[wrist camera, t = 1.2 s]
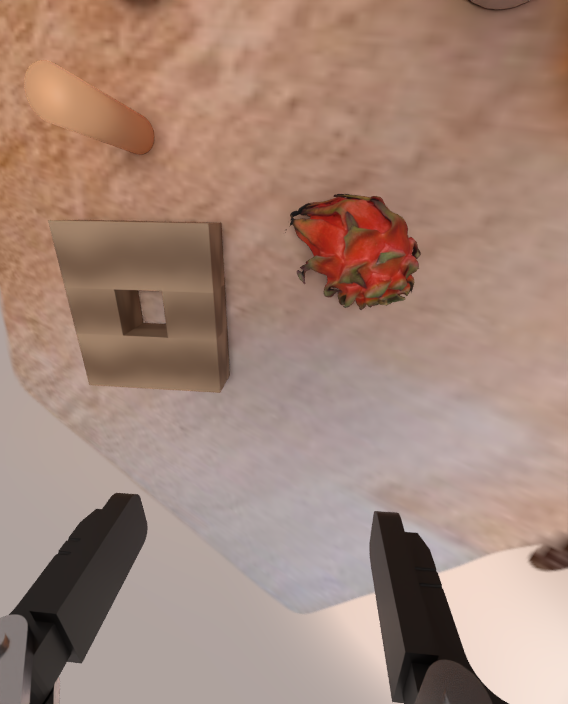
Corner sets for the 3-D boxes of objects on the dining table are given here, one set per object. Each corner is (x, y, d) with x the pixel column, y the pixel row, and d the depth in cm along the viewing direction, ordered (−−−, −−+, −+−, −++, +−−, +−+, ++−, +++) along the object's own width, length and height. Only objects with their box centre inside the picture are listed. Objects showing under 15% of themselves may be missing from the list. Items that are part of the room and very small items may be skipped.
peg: (117, 113, 27) (17, 60, 18) (151, 113, 27) (67, 59, 18) (123, 154, 28) (33, 124, 19) (156, 154, 28) (80, 124, 19)
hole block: (79, 220, 31) (47, 220, 27) (221, 222, 30) (208, 223, 26) (111, 368, 37) (89, 385, 33) (229, 374, 36) (220, 392, 32)
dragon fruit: (397, 291, 33) (301, 223, 32) (462, 227, 25) (339, 140, 25) (368, 348, 28) (257, 269, 28) (438, 291, 21) (288, 185, 21)
